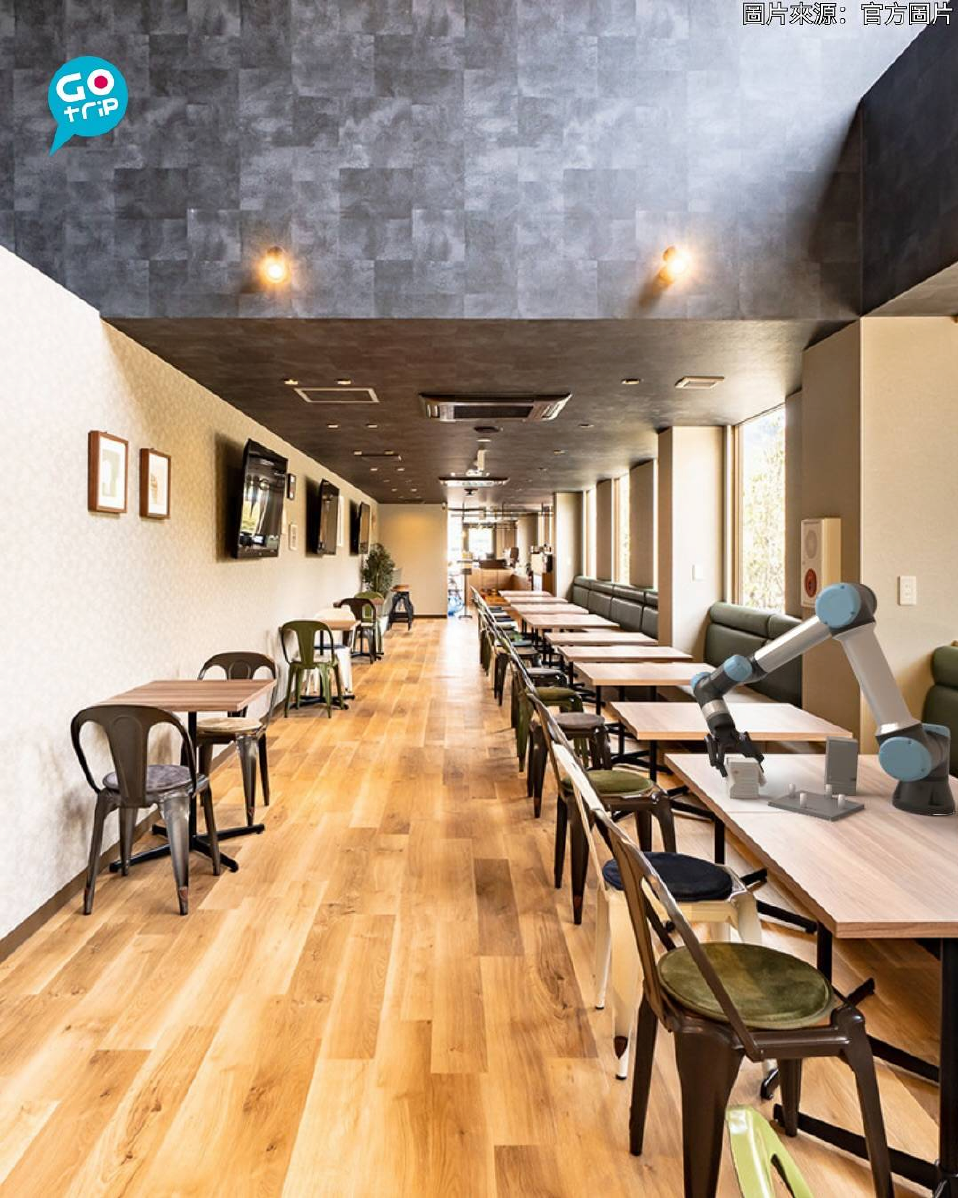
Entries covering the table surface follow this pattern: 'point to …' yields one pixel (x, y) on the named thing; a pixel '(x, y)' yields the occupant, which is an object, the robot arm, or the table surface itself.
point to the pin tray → (816, 804)
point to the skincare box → (841, 765)
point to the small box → (743, 777)
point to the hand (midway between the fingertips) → (748, 785)
